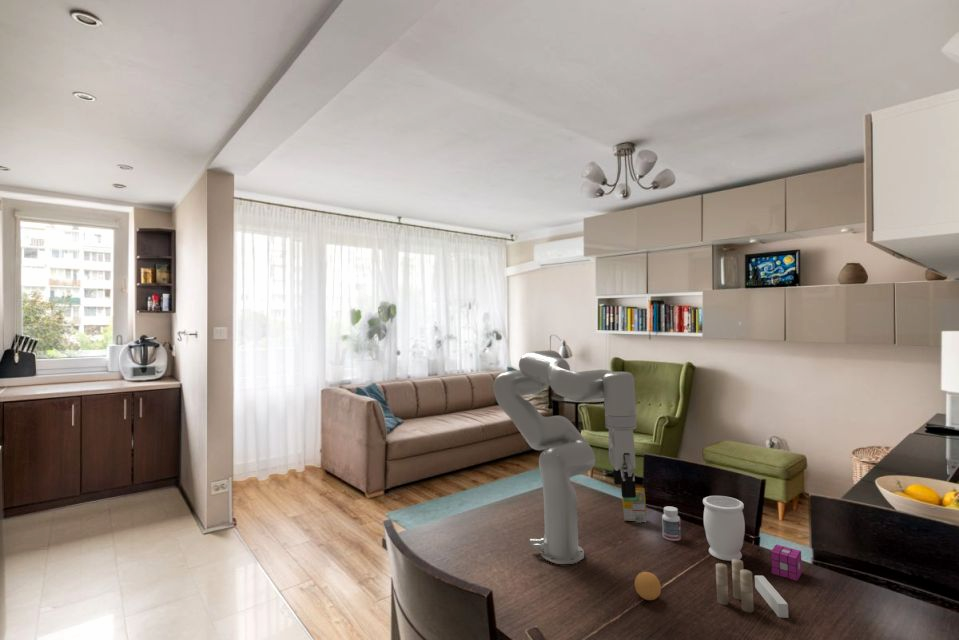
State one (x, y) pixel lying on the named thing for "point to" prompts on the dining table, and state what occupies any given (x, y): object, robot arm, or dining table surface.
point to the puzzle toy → (786, 562)
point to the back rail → (771, 596)
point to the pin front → (722, 584)
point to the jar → (724, 526)
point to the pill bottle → (671, 524)
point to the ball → (647, 585)
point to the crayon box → (635, 507)
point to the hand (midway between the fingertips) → (624, 490)
